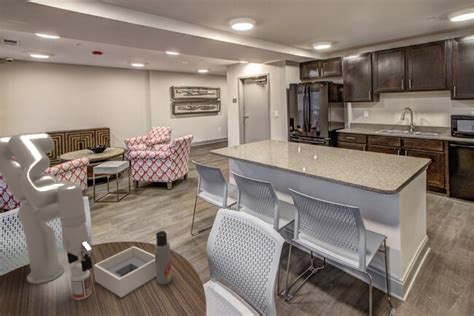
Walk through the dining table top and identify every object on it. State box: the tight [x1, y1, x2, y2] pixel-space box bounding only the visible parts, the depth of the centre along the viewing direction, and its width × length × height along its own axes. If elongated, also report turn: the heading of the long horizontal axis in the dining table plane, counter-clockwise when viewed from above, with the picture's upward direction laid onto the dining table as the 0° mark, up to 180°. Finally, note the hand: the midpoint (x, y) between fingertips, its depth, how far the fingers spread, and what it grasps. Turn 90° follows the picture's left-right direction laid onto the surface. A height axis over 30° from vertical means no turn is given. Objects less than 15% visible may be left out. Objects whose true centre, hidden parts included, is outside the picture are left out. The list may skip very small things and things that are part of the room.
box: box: [93, 245, 157, 298], centre depth 114 cm, size 17×18×7 cm
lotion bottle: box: [153, 230, 173, 285], centre depth 110 cm, size 6×6×20 cm
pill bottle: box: [70, 262, 93, 301], centre depth 103 cm, size 6×6×11 cm
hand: (80, 265), depth 102 cm, fingers open, 9 cm apart
